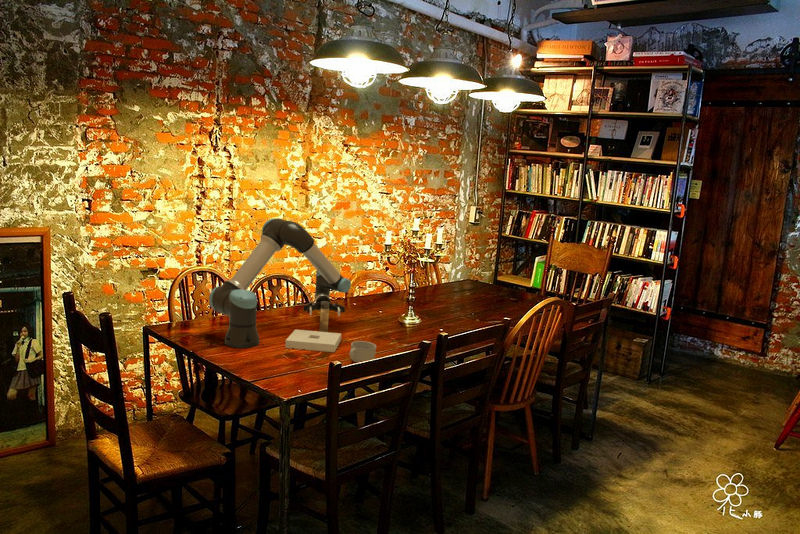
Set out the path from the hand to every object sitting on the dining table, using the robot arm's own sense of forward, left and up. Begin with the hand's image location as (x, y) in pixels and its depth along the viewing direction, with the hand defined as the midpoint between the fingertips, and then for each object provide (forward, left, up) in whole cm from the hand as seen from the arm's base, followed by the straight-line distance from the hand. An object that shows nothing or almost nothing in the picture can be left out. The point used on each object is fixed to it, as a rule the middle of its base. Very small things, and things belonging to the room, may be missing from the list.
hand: (325, 313), depth 300 cm
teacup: (+22, -35, -11) cm, 43 cm away
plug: (-1, +2, -11) cm, 11 cm away
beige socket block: (-2, -15, -11) cm, 19 cm away
